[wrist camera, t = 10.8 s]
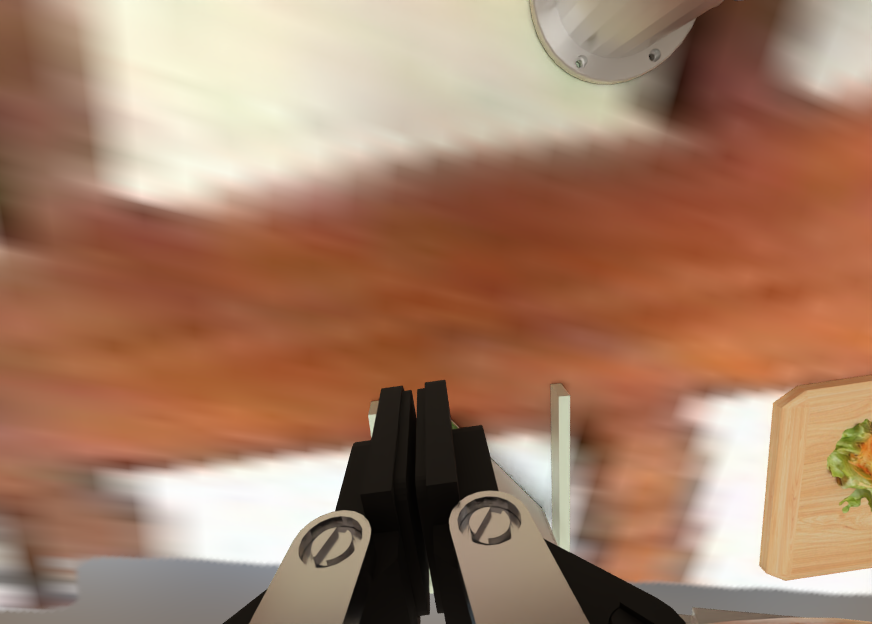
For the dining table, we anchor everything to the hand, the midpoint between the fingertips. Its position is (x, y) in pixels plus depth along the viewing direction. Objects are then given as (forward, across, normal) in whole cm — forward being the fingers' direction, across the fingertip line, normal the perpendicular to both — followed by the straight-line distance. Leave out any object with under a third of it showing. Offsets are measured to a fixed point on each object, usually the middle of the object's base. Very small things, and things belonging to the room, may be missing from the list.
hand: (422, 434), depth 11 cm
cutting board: (+28, -50, +29) cm, 64 cm away
